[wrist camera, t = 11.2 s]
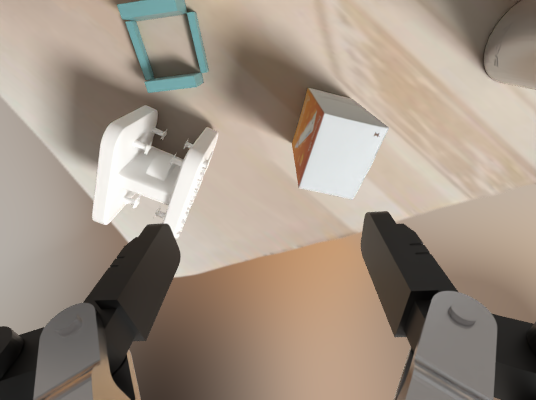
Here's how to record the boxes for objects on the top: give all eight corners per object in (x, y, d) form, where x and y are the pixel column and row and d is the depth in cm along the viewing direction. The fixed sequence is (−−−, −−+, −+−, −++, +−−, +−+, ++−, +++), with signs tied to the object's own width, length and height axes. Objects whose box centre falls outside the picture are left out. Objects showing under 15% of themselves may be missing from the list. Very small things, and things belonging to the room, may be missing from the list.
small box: (306, 86, 32) (324, 110, 21) (352, 97, 33) (392, 127, 22) (290, 144, 36) (297, 189, 25) (331, 153, 37) (354, 201, 26)
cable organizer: (151, 94, 33) (100, 117, 23) (225, 129, 35) (206, 163, 26) (133, 181, 40) (88, 226, 31) (194, 205, 43) (171, 254, 33)
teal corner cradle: (193, -1, 27) (183, -6, 24) (211, 81, 32) (204, 85, 29) (125, 9, 28) (107, 6, 25) (152, 88, 32) (140, 93, 30)
